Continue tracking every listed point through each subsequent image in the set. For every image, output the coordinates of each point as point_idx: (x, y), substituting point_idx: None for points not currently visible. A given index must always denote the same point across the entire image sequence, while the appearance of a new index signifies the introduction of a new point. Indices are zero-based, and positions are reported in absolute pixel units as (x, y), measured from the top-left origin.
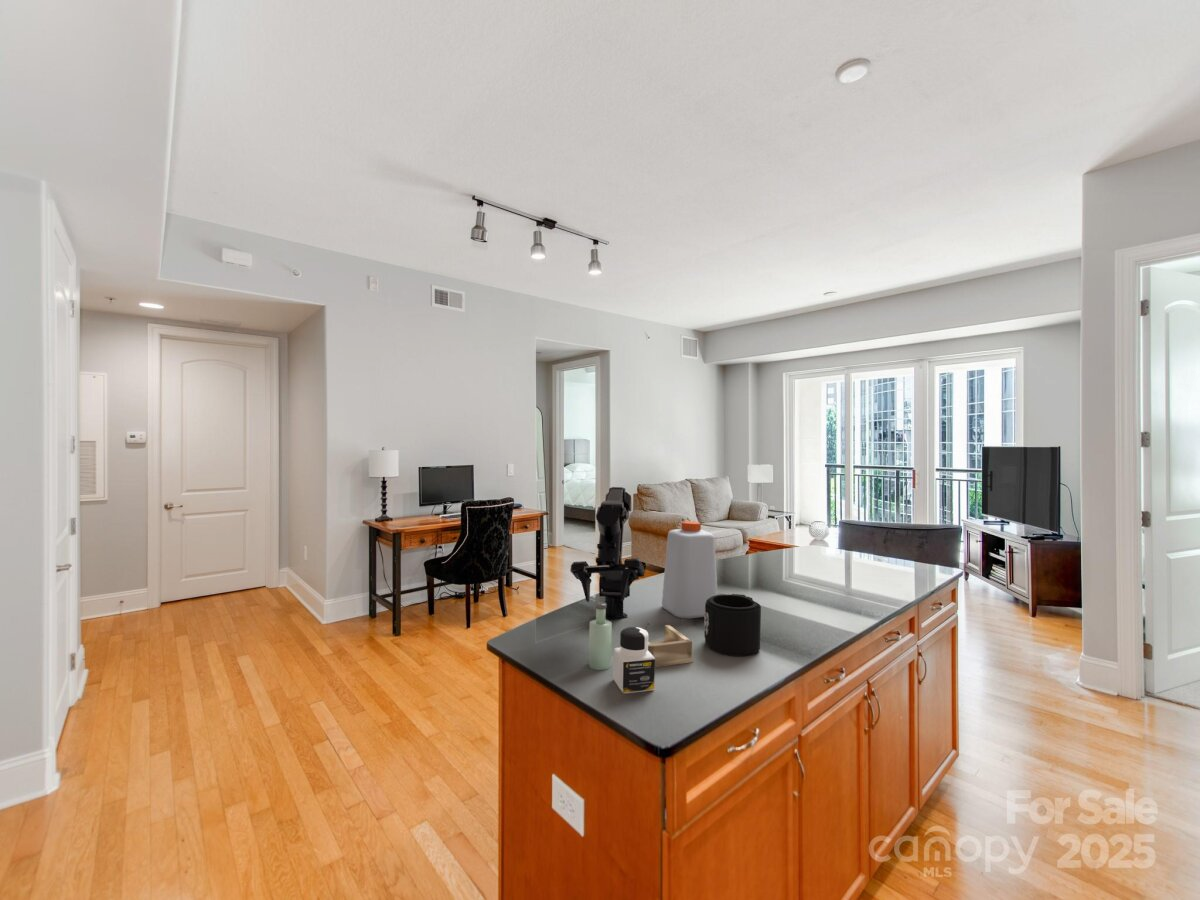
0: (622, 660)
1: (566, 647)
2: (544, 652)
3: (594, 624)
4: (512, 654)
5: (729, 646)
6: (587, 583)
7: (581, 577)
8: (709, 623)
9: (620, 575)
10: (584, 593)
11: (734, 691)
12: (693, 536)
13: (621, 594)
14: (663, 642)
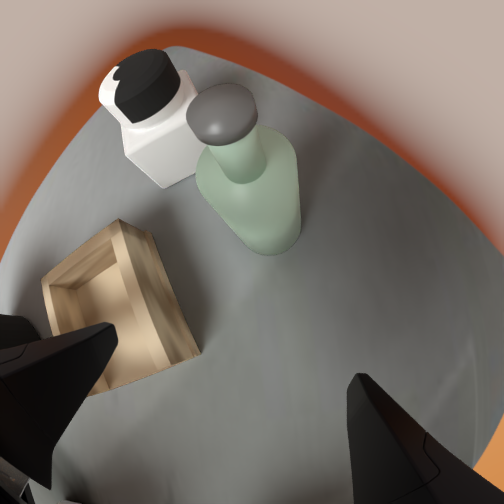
0: (186, 72)
1: (390, 334)
2: (439, 280)
3: (269, 142)
4: (494, 249)
5: (16, 317)
6: (387, 484)
7: (468, 485)
8: None
9: None
10: (392, 400)
11: (53, 185)
12: None
13: (93, 331)
14: (111, 377)
